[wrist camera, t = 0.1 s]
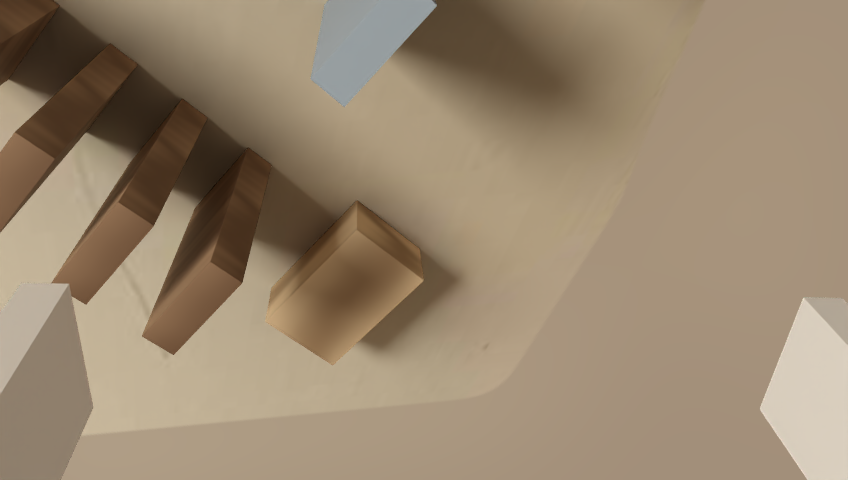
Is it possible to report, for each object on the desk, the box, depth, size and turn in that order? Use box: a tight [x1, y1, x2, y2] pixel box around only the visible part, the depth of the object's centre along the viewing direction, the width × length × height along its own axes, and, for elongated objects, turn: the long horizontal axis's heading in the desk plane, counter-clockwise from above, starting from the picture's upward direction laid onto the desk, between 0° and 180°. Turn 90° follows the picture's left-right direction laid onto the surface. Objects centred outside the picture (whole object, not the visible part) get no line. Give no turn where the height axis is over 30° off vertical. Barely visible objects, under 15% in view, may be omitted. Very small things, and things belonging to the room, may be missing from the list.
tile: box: [311, 0, 437, 107], centre depth 31 cm, size 2×5×12 cm, turn 137°
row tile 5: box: [142, 148, 272, 355], centre depth 37 cm, size 2×5×12 cm, turn 137°
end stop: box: [265, 201, 424, 365], centre depth 44 cm, size 5×8×4 cm, turn 137°
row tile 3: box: [0, 44, 138, 232], centre depth 33 cm, size 2×5×12 cm, turn 137°
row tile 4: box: [52, 99, 207, 304], centre depth 35 cm, size 2×5×12 cm, turn 137°
